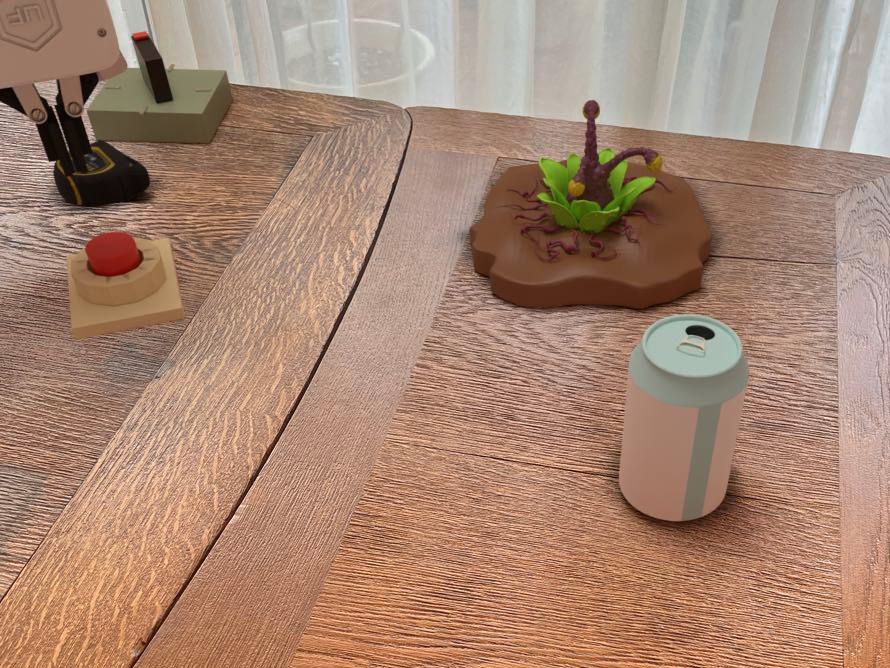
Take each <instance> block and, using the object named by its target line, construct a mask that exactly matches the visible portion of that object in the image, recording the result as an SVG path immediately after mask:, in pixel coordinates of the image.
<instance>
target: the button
mask: <svg viewBox="0 0 890 668" xmlns="http://www.w3.org/2000/svg"><path fill="white" fill-rule="evenodd" d="M134 238H135V237H133V236H132V235H131V234H129V233H126V232H122V231H110V232H104V233H102V234H98V235H96V236H94V237H92V238H91V239H90V240H88V242H87V243H86V244H85V247H84V248H85V252H86V254H87V257H88V260H89V262H90V265H91V268H92V270H93V272H94V273H95V274H96V275H98V276H104V277H113V276H118V275H124V274H126V273H128V272H130V271H132V270H134V269H136V268H138V267H139V265H140V264H141V258H140V255H139V252H138V249H137V246H136V243H135V240H134Z"/></svg>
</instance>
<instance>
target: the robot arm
mask: <svg viewBox="0 0 890 668" xmlns="http://www.w3.org/2000/svg"><path fill="white" fill-rule="evenodd" d="M127 68H128V63H127V60H126V58H125V57H124V55H123V53H122V51H121V49H120V44H119V39H118V35H117V31H116V27H115V24H114V21H113V17H112V14H111V9H110V7H109V3H108V1H107V0H0V103H3V104H4V105H6V106H8V107H10V108H11V109H13V110H15V111H17V112H19V113H20V114H22V115H24V116H26V117H27V118H28V119H29V121H31V122H32V123H33V124H35V128H36V129H37V132H38V136H39V138H40V141H41V144H42V146H43V149H44V153H45V156H46V158H47V160H48V163H53V162H56V161H57V160H59V161H60V164H61V166H62V169H63V172H64V174H65V177H69V176H73V174H74V173H75V170H74V167H73V164H72V161H71V158H70V155H69V152H70V154H71V157H72V160H73V162H74V165H75V167H76V170H77V172H78V173H79V172H81V174H84V173H89V172H88V168H87V165H86V162H85V159H84V156H83V155H88V154H93V152H92V148H91V142H90V140H89V137H88V136H89V135H88V132H87V129H86V127H85V122H84V120H83V117H82V115H83V114H84V112H85V105H86V103H87V102H88V100H89V98H90V97H91V95H92V94H93V92H94V90H95V89H96V87H97V86H98V84H99V83H101V82H105V81H108V79H110V78H112V77H114V76H116V75H119V74H121V73H123V72H125V71H126V69H127ZM49 81H55V84H56V90H57V93H56V96H55V97H54V99H55V104H54V106H53V105H49V102H48V100H47V98H45V97H44V96H42V95H41V94H40V93H39V92H40V91H38V89H37V86H36V85H35V84H38V83H43V82H49ZM53 107H54V108H53ZM54 109H55V110H54ZM56 115H57V116H56ZM68 151H69V152H68Z"/></svg>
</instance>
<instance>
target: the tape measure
mask: <svg viewBox="0 0 890 668" xmlns="http://www.w3.org/2000/svg"><path fill="white" fill-rule="evenodd" d="M90 145H91V148H92V152H93V154H88V155H83V156H84V159H85V162H86V165H87V168H88V172H89V173H84V174H81V172H79V173H78V172H77V170H76V167H75V165H74V162H73V160H72V157H71V154H70V152H69V150H68V152H69V155H70V158H71V161H72V164H73V167H74V170H75V173H74V174H73V176H69V177H65V174H64V172H63V169H62V166H61V164H60V161H59V160H57V161H54V164H53V171H52V176H53V180H54V183H55V186H56V188H57V191H58V193H59V195H60V196H61V198H62V199H64V201H66V202H69V203H71V204H72V205H73V204H74V205H77V206H81V207H84V208H88V207H94V208H96V207H102V206H108V205H112V204H116V203H122V204H124V203H127V202H129V201H130V200H131V199H133V198H135V197H137V196H138V195H141V194H142V193H144V192H146V191H147V189H149V187H150V186H151V178H150V175H149V172H148V170H147V168H146V167H145V166H144V165H143V164H142V163H140V161H138V160H137V159H134V158H133V157H130V155H127V154H125V153H123V152H122V151H121V150H119V149H117V148H116V147H114V146H113V145H112V144H110V142H107V141H106V140H96V141H94V142H92V143H90Z"/></svg>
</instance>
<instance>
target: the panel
mask: <svg viewBox="0 0 890 668" xmlns="http://www.w3.org/2000/svg"><path fill="white" fill-rule="evenodd" d="M175 66H176V64H175V63H171V64H170V65H169V66H168V68H165V70H166V74H167V78H168V81H169V85H170V89H171V93H172V96H173V100H171V101H166V102H161V103H156V101H155V99H154V97H153V96H152V94H151V92H150V90H149V88H148V86H147V84H146V83H145V81H144V79H143V77H142V73H141V70H140V67H127V69H126V71H125V72H123V73H121V74H119V75H116V76H114V77H112V78H110V79H107V80H106V82H105V83H104V84H103V86H102V87H101V89H100V90H99V92H98V93H97V94H96V96H95V97H94V99H93V100H92V101H91V103H90V104H89V105H88V107H87V108H86V109H85V110H86V114H87V117H88V121H89V123H90V125H91V128H92V132H93V135H94V137H95V140H96V141H98V140H103V141H109V142H110V141H114V142H115V141H116V142H144V143H145V142H146V143H177V144H179V143H180V144H181V143H182V144H210V143H211V141H212V140H213V138H214V136H215V134H216V132H217V131H218V128H219V127H220V124H221V122H222V121H223V119H224V117H225V115H226V114H227V112H228V109H229V108H230V106H231V104H232V102H233V101H234V99H233V95H232V89H231V86H230V80H229V77H228V71H227V70H225V69H223V70H222V69H192V68H191V69H189V68H188V69H187V68H175Z"/></svg>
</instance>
